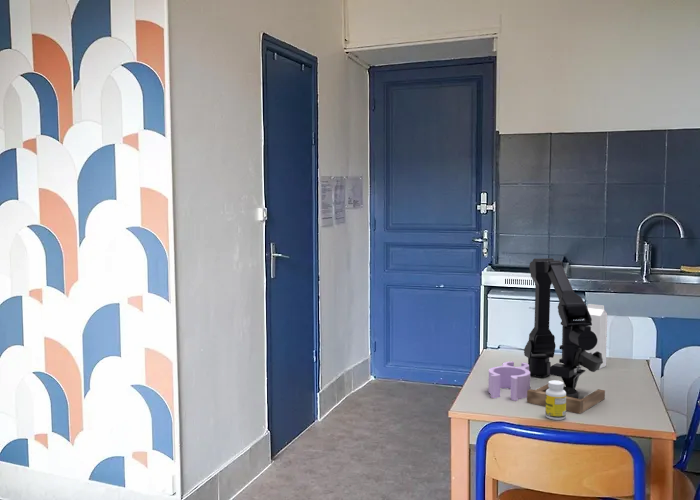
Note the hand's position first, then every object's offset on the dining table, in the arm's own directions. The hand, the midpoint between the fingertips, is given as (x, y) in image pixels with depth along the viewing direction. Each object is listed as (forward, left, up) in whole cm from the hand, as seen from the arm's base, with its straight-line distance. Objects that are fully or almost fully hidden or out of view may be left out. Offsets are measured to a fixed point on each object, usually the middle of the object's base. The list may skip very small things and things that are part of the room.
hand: (571, 393), depth 202 cm
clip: (-17, -5, -2) cm, 18 cm away
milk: (-9, +40, -1) cm, 41 cm away
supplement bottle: (+4, -20, -1) cm, 20 cm away
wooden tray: (0, -3, -1) cm, 3 cm away
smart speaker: (0, -6, -2) cm, 6 cm away
